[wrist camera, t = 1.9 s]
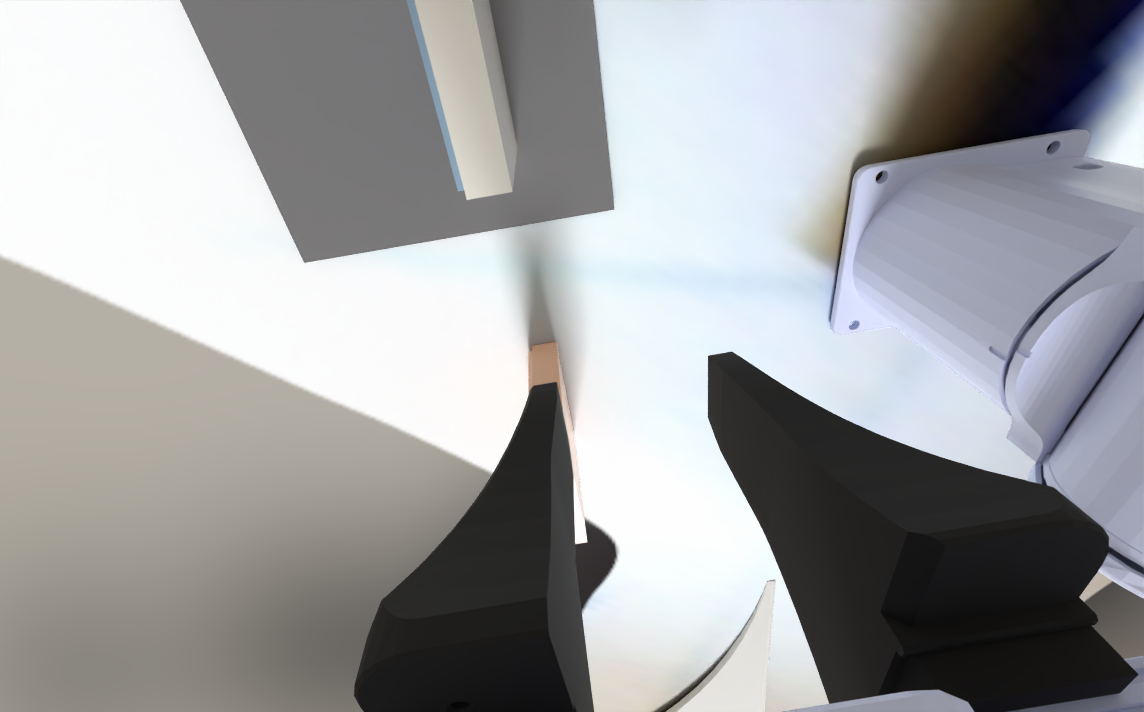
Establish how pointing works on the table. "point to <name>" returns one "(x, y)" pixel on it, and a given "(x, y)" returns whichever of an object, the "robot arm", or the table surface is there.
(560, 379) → the terracotta tile
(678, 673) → the table surface
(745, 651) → the corner molding
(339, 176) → the mat
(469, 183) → the glazed tile
